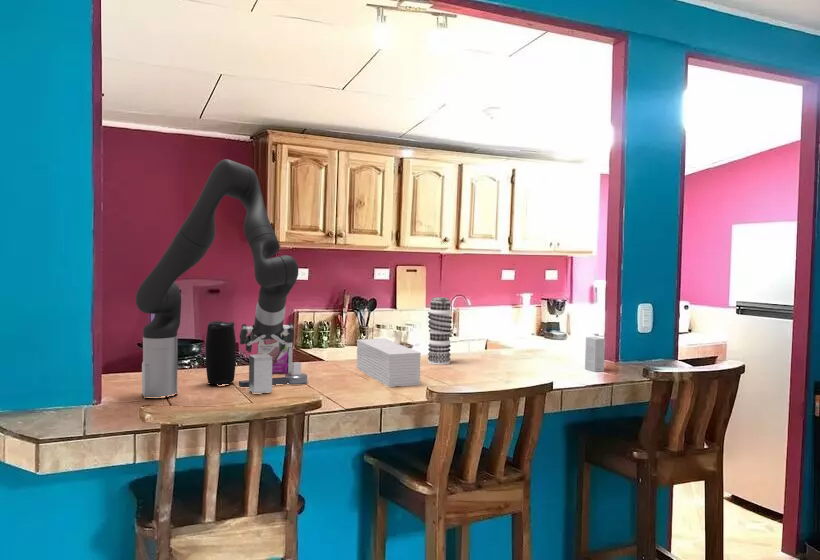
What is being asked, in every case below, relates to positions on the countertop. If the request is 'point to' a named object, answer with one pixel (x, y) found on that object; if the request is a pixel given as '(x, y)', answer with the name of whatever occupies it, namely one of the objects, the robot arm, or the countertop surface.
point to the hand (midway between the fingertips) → (264, 349)
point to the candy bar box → (277, 354)
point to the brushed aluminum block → (260, 373)
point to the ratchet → (286, 377)
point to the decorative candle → (439, 331)
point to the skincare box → (594, 354)
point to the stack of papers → (388, 362)
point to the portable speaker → (220, 352)
